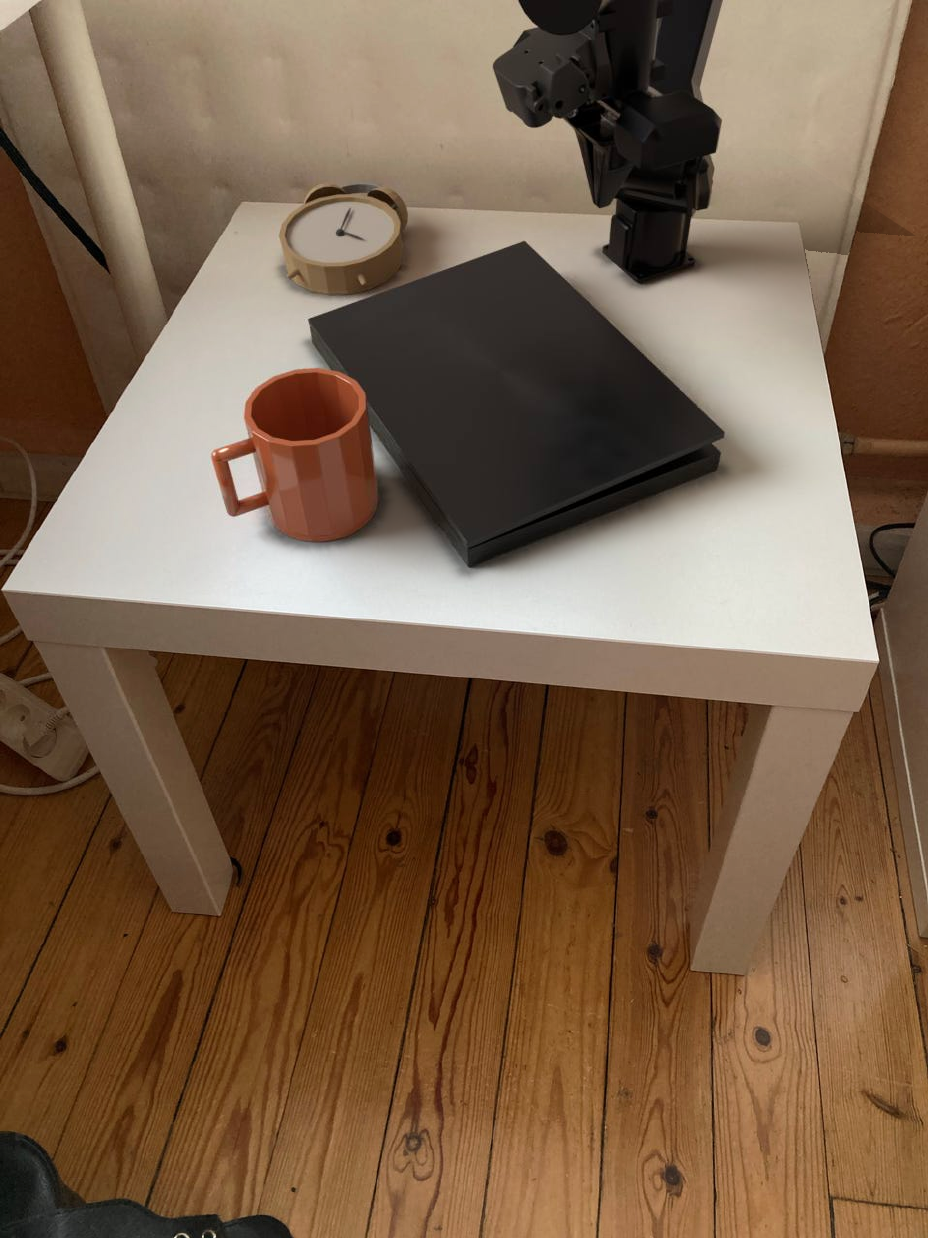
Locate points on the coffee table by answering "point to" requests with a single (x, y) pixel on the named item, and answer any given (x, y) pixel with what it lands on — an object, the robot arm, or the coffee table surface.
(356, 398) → the mug
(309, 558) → the coffee table surface
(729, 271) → the coffee table surface
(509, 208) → the coffee table surface
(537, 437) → the laptop screen
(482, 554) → the laptop
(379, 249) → the alarm clock
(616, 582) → the coffee table surface
